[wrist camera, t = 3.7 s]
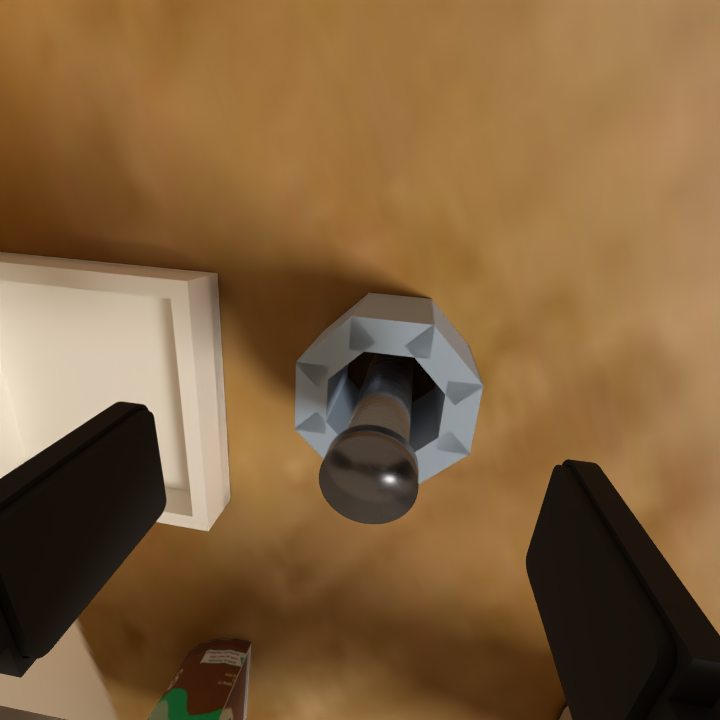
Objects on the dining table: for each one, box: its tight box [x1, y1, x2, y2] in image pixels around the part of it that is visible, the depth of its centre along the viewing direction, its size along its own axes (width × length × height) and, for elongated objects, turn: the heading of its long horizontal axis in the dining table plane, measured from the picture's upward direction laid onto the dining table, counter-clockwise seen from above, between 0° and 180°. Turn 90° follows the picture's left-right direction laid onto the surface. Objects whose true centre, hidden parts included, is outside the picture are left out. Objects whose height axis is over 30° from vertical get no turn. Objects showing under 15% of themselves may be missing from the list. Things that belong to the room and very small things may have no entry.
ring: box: [295, 292, 484, 484], centre depth 16 cm, size 7×8×4 cm
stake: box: [319, 353, 419, 524], centre depth 14 cm, size 3×3×9 cm
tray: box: [0, 252, 230, 531], centre depth 20 cm, size 13×13×2 cm
